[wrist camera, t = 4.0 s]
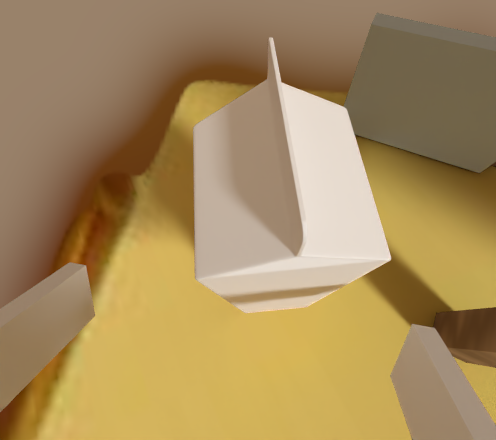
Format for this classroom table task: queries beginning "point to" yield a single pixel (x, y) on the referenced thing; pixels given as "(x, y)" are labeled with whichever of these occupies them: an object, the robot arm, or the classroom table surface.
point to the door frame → (469, 334)
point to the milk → (281, 199)
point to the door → (427, 91)
